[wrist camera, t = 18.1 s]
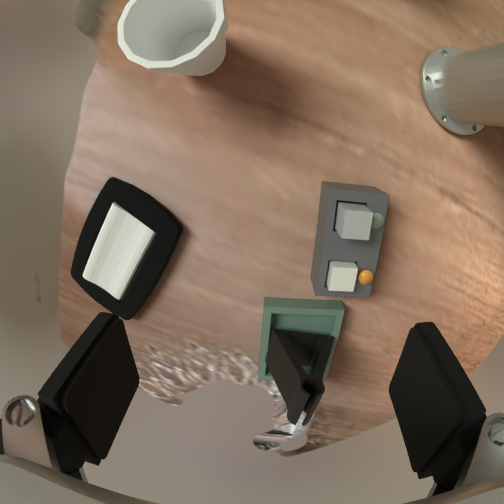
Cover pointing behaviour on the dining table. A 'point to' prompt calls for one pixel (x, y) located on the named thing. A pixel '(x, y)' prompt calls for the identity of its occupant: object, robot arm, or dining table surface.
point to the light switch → (124, 247)
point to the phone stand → (299, 369)
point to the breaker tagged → (341, 275)
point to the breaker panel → (347, 249)
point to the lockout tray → (299, 324)
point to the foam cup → (174, 35)
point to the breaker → (353, 221)
